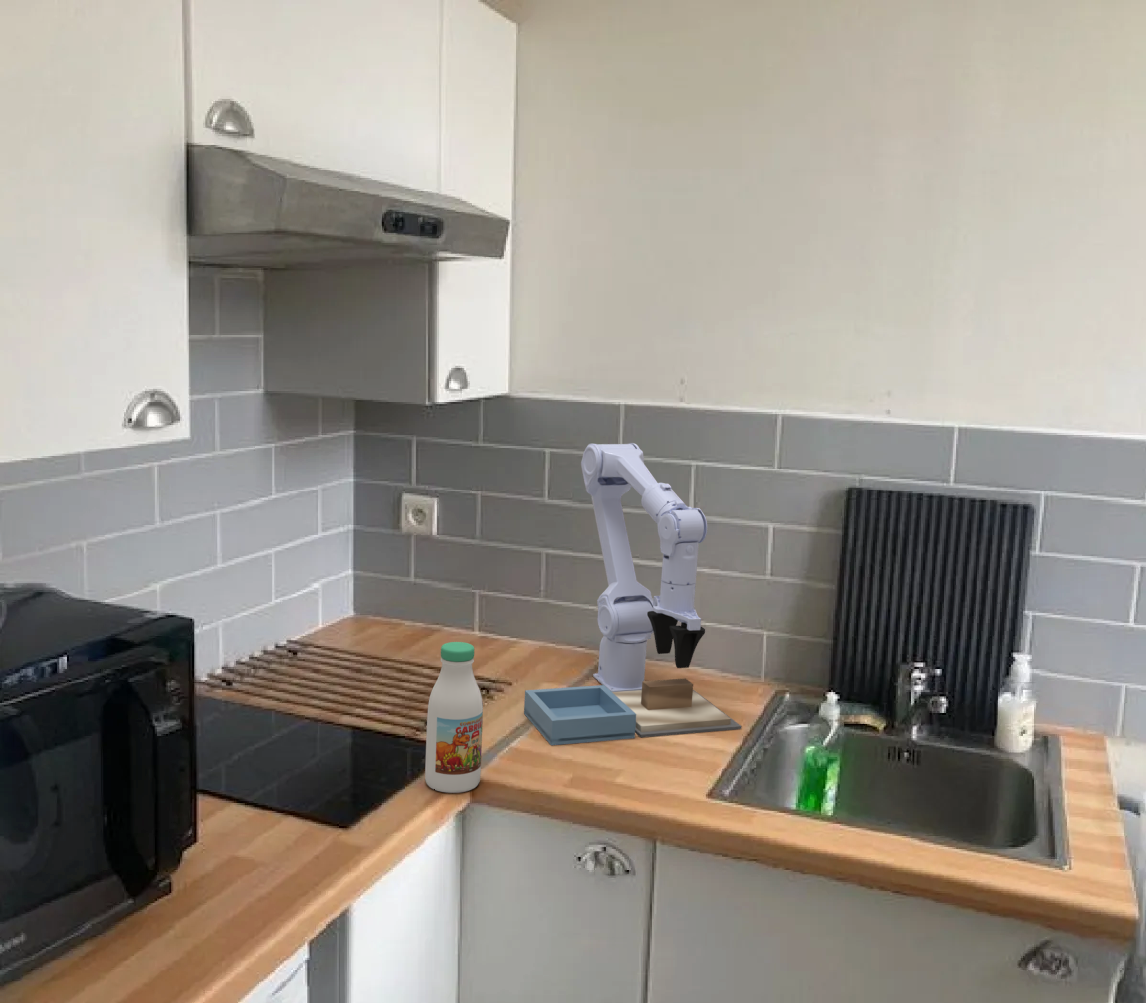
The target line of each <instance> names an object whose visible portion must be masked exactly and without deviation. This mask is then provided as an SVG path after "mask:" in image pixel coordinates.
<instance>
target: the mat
mask: <svg viewBox="0 0 1146 1003" xmlns="http://www.w3.org/2000/svg"><path fill="white" fill-rule="evenodd" d="M693 690H694V691H695V692H696V693H697V694H699V695H700V696H701V697H703V698H704V699H705V700H707V701H708V702H709V703H711V704H712V705H713V706H715V707H716V708H717V709H718V710H720V711H721V712H722V713H724V714H725V715H726V716H728V717H729V718H730V719H731V723H730V725H721V726H709V727H697V728H685V729H673V730H661V731H649V732H640V731H639V730H638V729H637V728H636V727H635V735H637V736H638V737H639V738H640V739H641V738H652V737H665V736H677V735H687V734H699V733H709V732H710V733H712V732H722V731H723V732H726V731H735V730H742V725H741V724H740V723H738V722H737V721H736V720H734V719H733V718H732V717H730V716H729V715H728V714H727V713H725V712H724V711H723V710H721V709H720V708H718V707H717V706H716V705H714V704H713V703H712V702H710V700H708V699H707V698H705V697H704V696H703V695H702V694H700V693H699V692H698V691H696V690H695V689H693Z"/></svg>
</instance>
